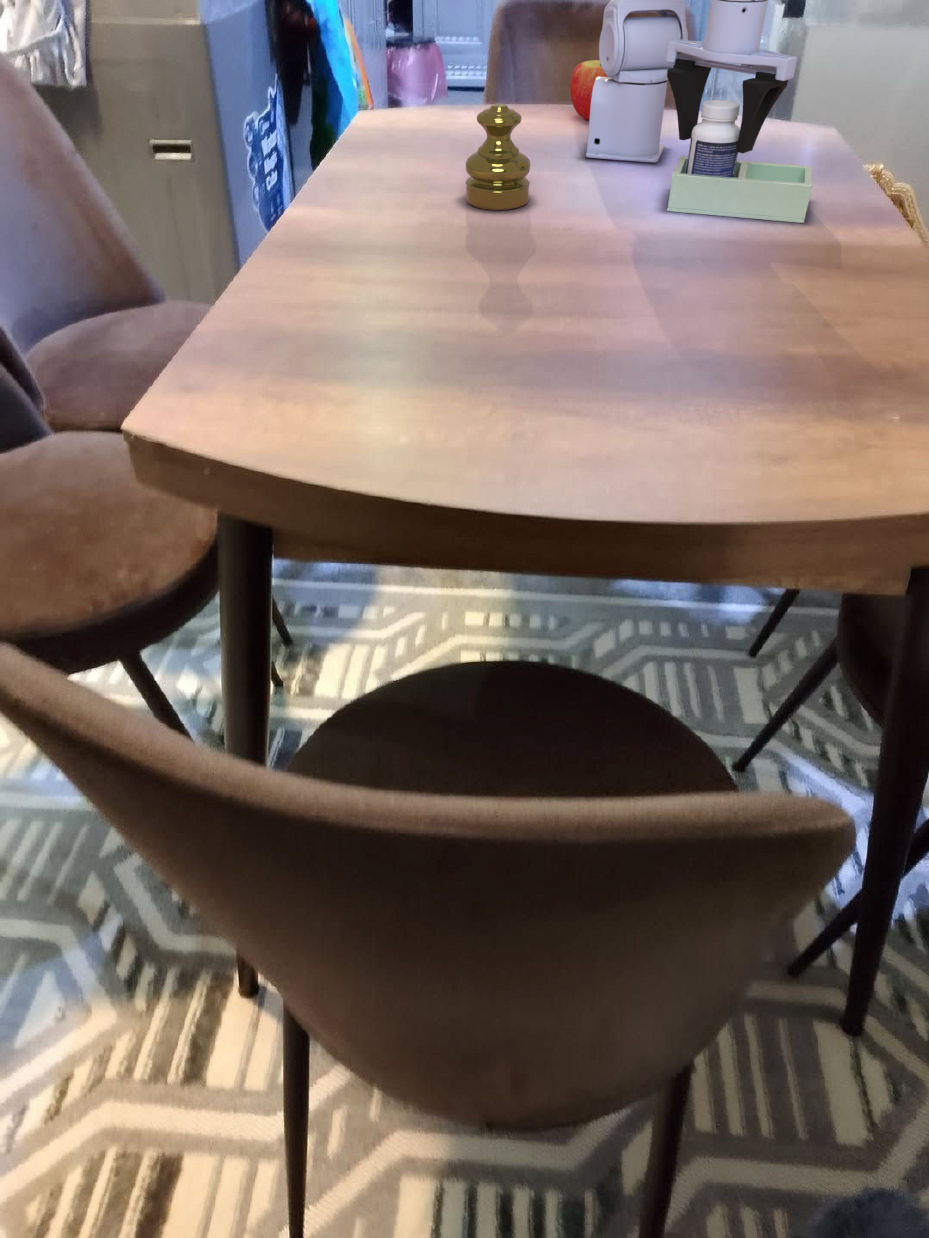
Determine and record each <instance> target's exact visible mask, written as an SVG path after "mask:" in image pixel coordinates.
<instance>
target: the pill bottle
mask: <svg viewBox="0 0 929 1238" xmlns="http://www.w3.org/2000/svg"><path fill="white" fill-rule="evenodd" d="M701 106H702V108H701V112H700V117H701V122H698V123H697V125H696V126H695V127H694V128H693V130H692V135H691V138H690V142H689V148H688V149H689V150H688V154H687V157H688V161H687V168H686V174H696V175H709V176H722V177H734V173H735V168H736V162H737V161H738V156H739V153H738V152H737V146H738V138H739V133H740V127H739V125H737V124H736V121H737V120H738V119H739V118H738V117H739V114H740V107H741V104H740V103H739V102H737V101H733V100H727V99H711V100H710V99H709V100H706V101H703V102H702V105H701Z"/></svg>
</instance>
